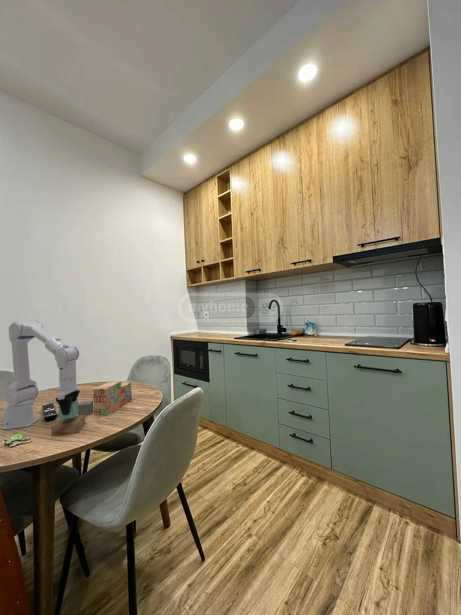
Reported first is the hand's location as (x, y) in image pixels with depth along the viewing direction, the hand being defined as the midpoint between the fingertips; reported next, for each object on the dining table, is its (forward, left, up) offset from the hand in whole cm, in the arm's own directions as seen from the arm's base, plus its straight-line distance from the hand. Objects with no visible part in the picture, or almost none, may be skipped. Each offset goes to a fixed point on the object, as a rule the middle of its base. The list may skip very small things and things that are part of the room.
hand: (68, 412), depth 101 cm
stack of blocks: (+12, +22, -7) cm, 26 cm away
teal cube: (0, 0, -2) cm, 2 cm away
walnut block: (0, 0, -7) cm, 7 cm away
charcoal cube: (+1, +17, -7) cm, 18 cm away
